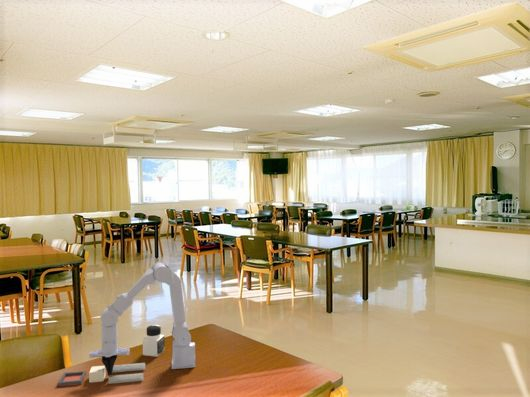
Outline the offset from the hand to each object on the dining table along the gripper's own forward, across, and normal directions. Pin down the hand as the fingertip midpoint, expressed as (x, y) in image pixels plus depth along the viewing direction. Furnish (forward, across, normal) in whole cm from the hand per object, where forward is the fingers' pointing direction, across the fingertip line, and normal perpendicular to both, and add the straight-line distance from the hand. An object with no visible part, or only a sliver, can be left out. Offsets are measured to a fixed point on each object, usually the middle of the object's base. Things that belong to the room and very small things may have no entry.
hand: (110, 374), depth 159 cm
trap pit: (+1, -14, 0) cm, 14 cm away
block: (+2, -5, 0) cm, 5 cm away
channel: (+1, +6, 0) cm, 7 cm away
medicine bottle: (+2, +15, +20) cm, 25 cm away
